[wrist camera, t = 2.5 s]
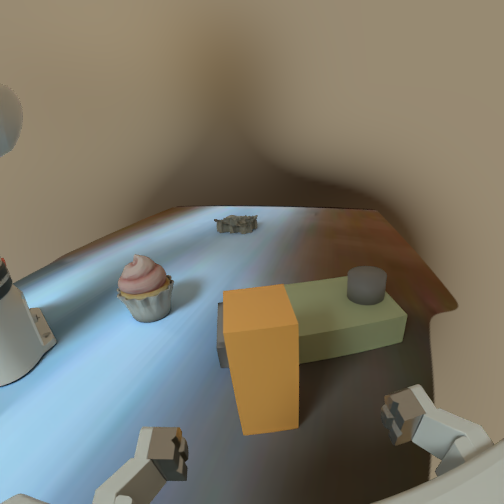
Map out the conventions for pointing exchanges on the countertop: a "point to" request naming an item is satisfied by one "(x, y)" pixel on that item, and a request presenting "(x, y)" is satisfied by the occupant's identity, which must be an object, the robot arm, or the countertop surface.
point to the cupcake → (145, 289)
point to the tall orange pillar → (263, 357)
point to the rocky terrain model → (237, 224)
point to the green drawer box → (339, 316)
